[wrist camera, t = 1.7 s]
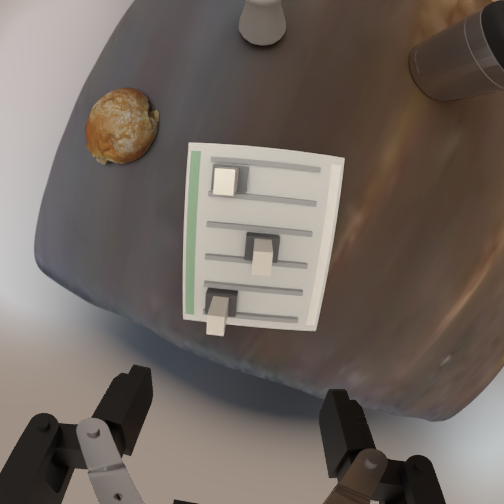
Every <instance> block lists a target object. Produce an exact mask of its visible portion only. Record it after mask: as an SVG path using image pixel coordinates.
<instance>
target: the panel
mask: <svg viewBox="0 0 504 504" xmlns="http://www.w3.org/2000/svg"><path fill="white" fill-rule="evenodd" d="M344 160H345V158H341V157H335V156H329V155H322V154H315V153H308V152H300V151H292V150H284V149H275V148H265V147H254V146H242V145H229V144H212V143H189V147H188V161H187V175H186V192H185V212H184V241H183V319H187V320H195V321H203V322H207V314H205V298H206V291H207V289H208V287H209V288H219V289H228V290H238V297H237V310H236V316H235V317H227V322H226V324H229V325H239V326H250V327H261V328H274V329H287V330H303V331H316V328H317V323H318V319H319V314H320V309H321V304H322V300H323V295H324V290H325V284H326V279H327V274H328V268H329V263H330V257H331V252H332V246H333V240H334V233H335V227H336V221H337V214H338V207H339V200H340V193H341V185H342V177H343V168H344ZM213 164H221V165H235V166H247V167H249V169H248V180H247V191H246V193H238V192H236V193H235V194H234V196H228V195H215V194H213V190H211V182H212V169H213ZM247 232H254V233H265V234H275V235H279V236H280V245H279V253H278V261H277V263H272V268H271V276H259V275H251V273H252V261H249V260H244V256H245V244H246V234H247Z"/></svg>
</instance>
